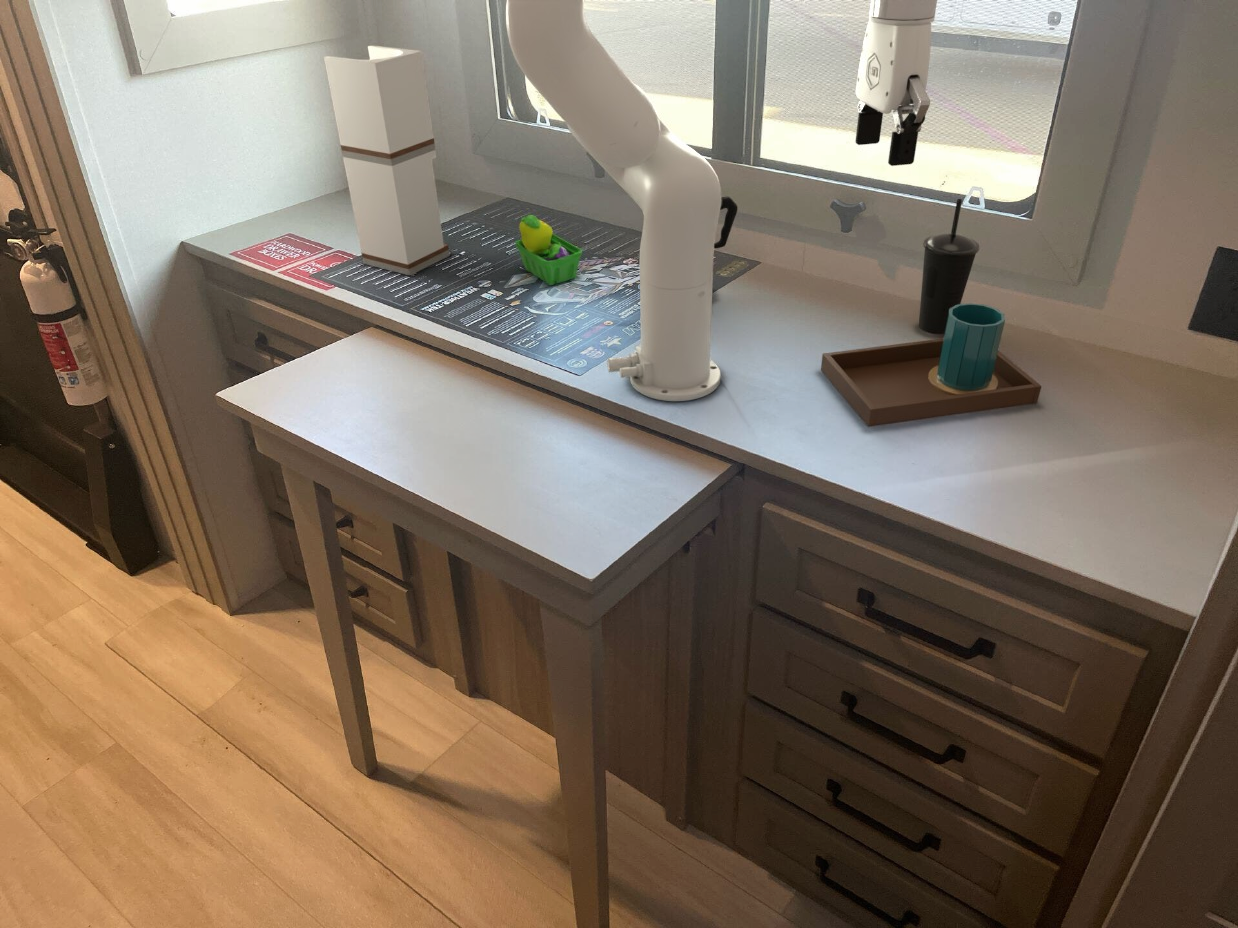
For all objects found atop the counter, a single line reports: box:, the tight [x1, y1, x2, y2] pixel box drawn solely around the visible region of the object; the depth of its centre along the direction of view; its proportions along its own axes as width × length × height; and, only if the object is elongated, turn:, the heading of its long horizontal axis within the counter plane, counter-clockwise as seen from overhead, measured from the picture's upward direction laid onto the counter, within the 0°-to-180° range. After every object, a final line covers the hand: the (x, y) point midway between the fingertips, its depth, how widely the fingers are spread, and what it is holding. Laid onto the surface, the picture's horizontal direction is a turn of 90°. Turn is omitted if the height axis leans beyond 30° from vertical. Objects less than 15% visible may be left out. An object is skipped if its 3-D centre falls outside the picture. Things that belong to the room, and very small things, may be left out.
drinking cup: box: [918, 198, 981, 335], centre depth 133 cm, size 8×8×20 cm
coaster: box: [928, 366, 998, 395], centre depth 125 cm, size 9×9×1 cm
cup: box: [937, 302, 1006, 391], centre depth 122 cm, size 7×7×10 cm
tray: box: [820, 337, 1043, 428], centre depth 123 cm, size 24×16×3 cm, turn 102°
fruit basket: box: [514, 214, 583, 286], centre depth 157 cm, size 11×9×11 cm
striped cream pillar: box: [323, 45, 451, 276], centre depth 158 cm, size 11×11×35 cm
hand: (883, 153), depth 118 cm, fingers open, 9 cm apart
